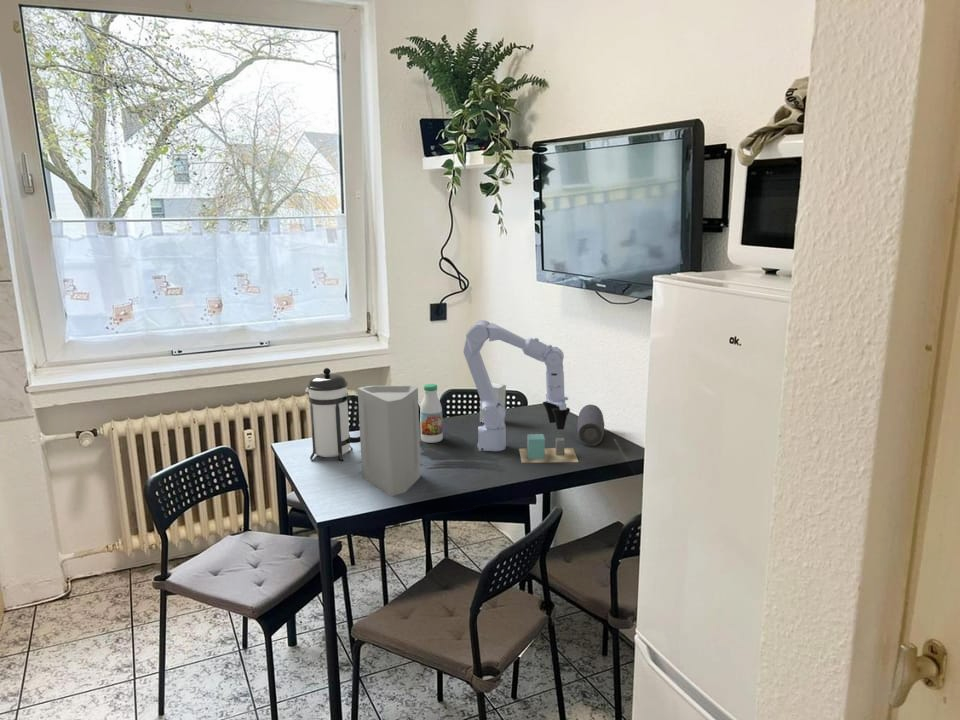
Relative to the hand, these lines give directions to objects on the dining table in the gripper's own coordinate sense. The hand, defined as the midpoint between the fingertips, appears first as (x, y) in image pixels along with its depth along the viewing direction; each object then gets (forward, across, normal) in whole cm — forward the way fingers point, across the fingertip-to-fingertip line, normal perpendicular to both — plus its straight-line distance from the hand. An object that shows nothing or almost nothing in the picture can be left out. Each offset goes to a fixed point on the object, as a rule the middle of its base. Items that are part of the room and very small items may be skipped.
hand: (556, 425), depth 230 cm
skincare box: (+9, +41, +12) cm, 43 cm away
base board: (+10, -3, +4) cm, 11 cm away
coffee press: (+7, +18, +71) cm, 74 cm away
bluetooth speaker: (+11, +13, -17) cm, 24 cm away
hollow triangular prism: (+8, -8, +54) cm, 55 cm away
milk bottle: (+8, +26, +38) cm, 47 cm away
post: (+9, -3, 0) cm, 9 cm away
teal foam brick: (+8, -3, +8) cm, 12 cm away
